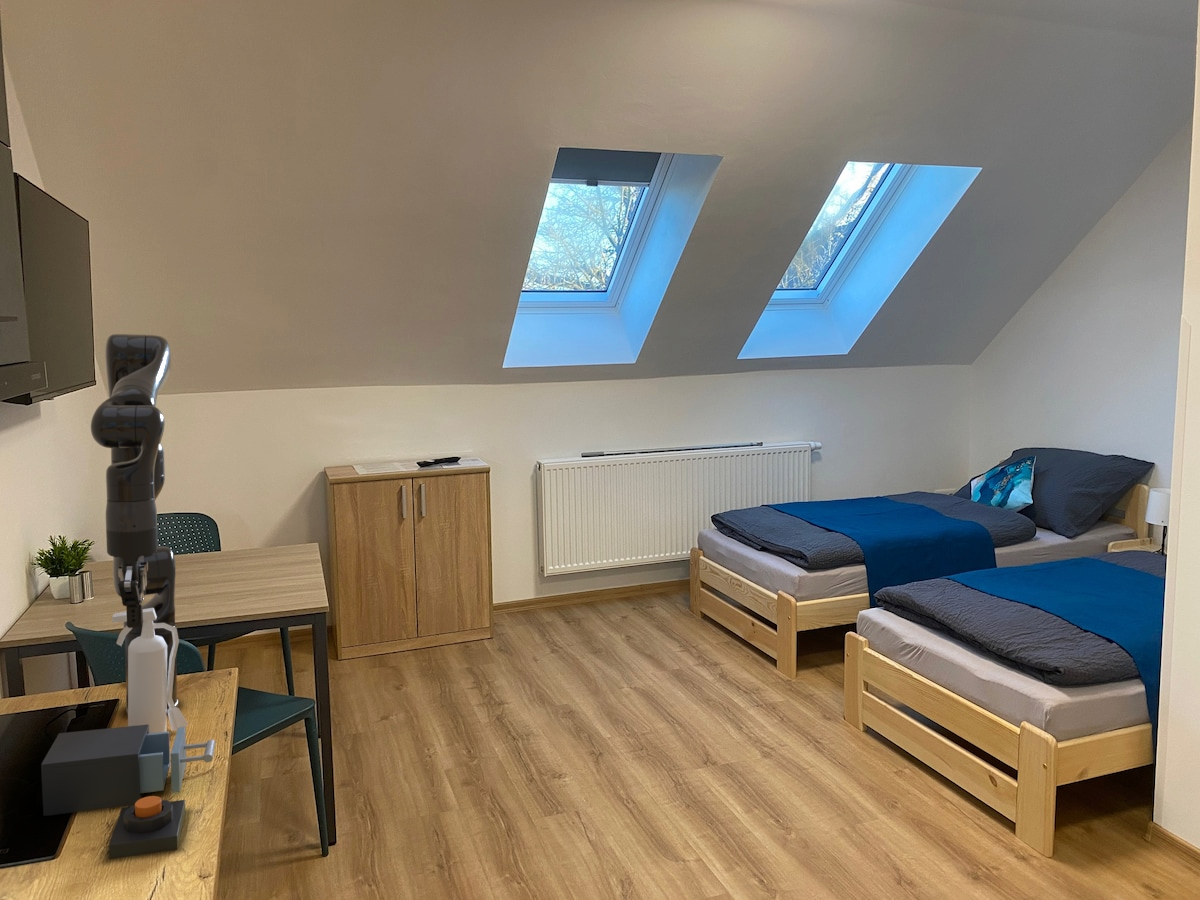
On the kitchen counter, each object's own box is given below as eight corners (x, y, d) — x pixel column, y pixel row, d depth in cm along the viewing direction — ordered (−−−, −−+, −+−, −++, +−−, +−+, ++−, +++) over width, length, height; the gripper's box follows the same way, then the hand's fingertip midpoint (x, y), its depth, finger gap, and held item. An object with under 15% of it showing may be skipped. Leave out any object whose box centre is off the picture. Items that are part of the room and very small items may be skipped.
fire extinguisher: (187, 741, 167) (184, 611, 164) (114, 749, 163) (109, 617, 160) (190, 726, 174) (186, 601, 171) (120, 734, 169) (115, 606, 166)
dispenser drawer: (216, 760, 158) (215, 723, 158) (212, 788, 149) (211, 749, 148) (106, 773, 153) (104, 735, 152) (93, 803, 143) (92, 762, 142)
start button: (137, 808, 137) (136, 797, 136) (163, 805, 138) (162, 794, 138) (133, 820, 133) (132, 809, 133) (160, 817, 134) (159, 806, 134)
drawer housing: (150, 771, 155) (148, 724, 154) (139, 804, 145) (138, 753, 144) (61, 781, 151) (58, 733, 150) (43, 816, 140) (40, 764, 139)
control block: (122, 820, 140) (121, 796, 139) (185, 812, 143) (184, 788, 142) (109, 859, 129) (108, 833, 129) (177, 849, 132) (176, 824, 132)
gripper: (151, 532, 143) (154, 637, 145) (162, 516, 155) (164, 612, 158) (98, 534, 141) (102, 641, 143) (113, 518, 153) (117, 615, 155)
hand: (135, 626), depth 150 cm, fingers closed
